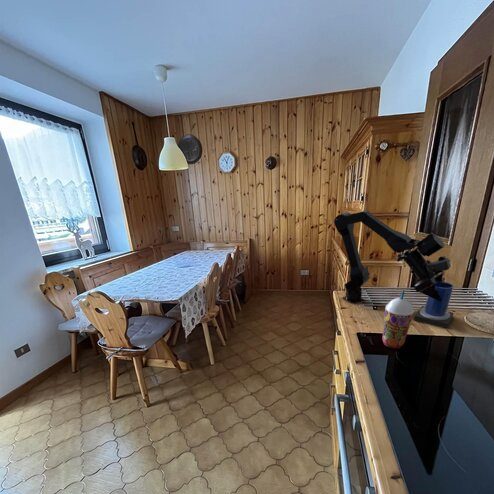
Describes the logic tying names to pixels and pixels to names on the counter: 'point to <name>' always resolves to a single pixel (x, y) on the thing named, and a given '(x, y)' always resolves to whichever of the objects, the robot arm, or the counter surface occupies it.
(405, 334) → the smoothie
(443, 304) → the tumbler
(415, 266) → the robot arm
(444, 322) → the scale
